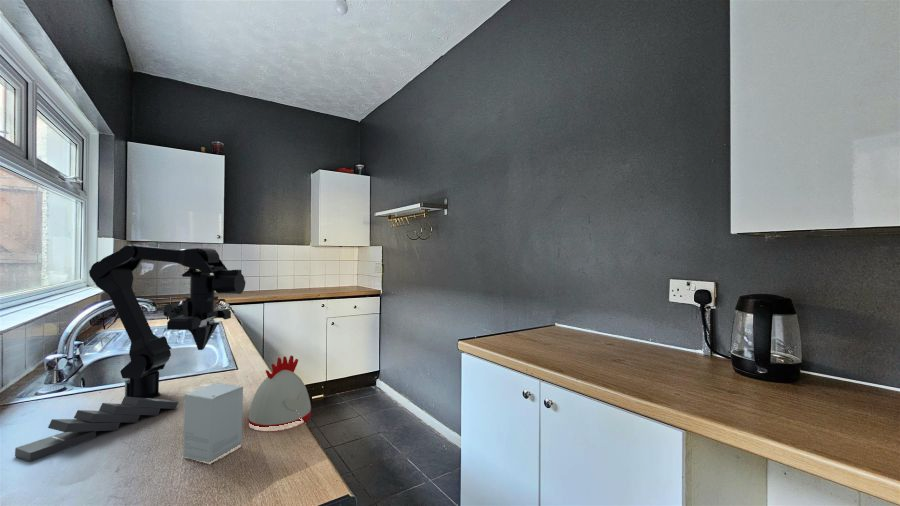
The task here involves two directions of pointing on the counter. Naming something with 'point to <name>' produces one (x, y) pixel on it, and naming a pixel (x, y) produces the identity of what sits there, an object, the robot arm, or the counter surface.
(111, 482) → the counter surface
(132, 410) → the domino
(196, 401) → the supplement box
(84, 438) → the domino
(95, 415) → the domino
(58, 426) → the domino
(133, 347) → the robot arm
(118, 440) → the counter surface
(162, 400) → the domino
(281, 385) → the grey chicken figure
